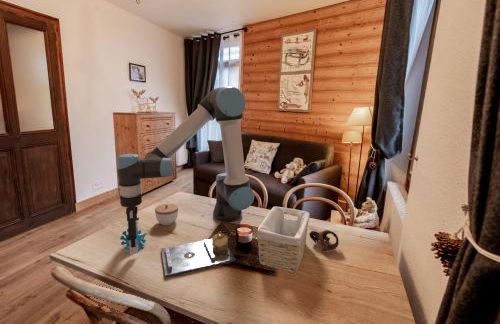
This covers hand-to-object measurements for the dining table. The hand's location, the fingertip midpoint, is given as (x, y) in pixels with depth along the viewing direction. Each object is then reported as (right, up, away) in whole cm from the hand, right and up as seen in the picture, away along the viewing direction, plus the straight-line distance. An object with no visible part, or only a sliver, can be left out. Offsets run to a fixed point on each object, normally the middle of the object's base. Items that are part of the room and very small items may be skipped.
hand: (134, 244), depth 100 cm
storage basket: (+60, -4, -1) cm, 60 cm away
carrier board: (+26, -3, -4) cm, 27 cm away
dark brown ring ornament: (+77, -3, +5) cm, 78 cm away
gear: (0, -2, +1) cm, 2 cm away
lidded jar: (+6, +3, +22) cm, 23 cm away
